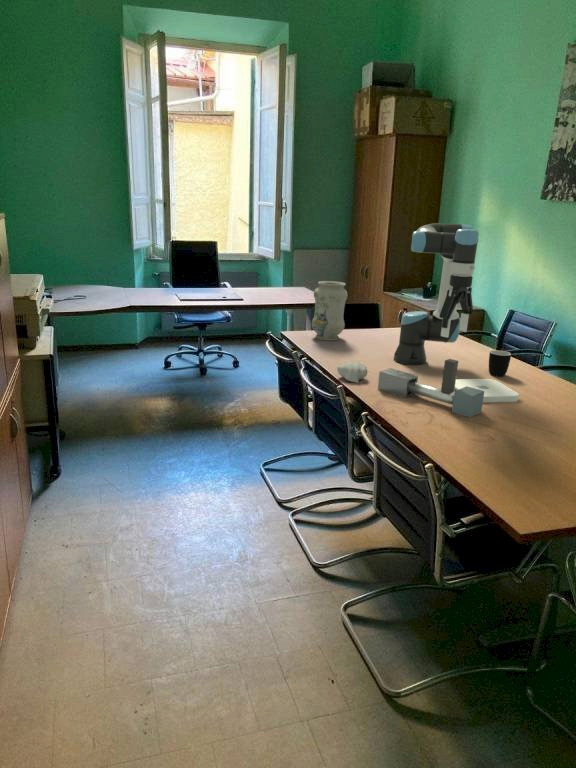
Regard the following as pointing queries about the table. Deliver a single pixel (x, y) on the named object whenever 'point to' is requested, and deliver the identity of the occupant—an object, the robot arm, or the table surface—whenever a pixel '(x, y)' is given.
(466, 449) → the table surface
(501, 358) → the mug
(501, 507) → the table surface
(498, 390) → the computer
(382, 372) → the sleeve
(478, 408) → the grey block
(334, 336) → the vase
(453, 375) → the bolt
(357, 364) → the shell shaped sculpture
